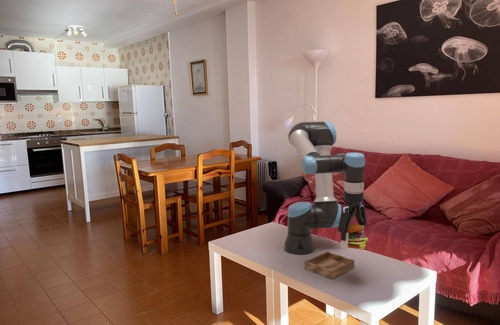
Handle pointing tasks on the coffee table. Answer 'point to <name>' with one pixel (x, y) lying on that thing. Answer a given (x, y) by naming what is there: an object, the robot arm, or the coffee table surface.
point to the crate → (329, 265)
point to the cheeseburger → (356, 237)
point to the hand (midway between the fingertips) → (352, 243)
